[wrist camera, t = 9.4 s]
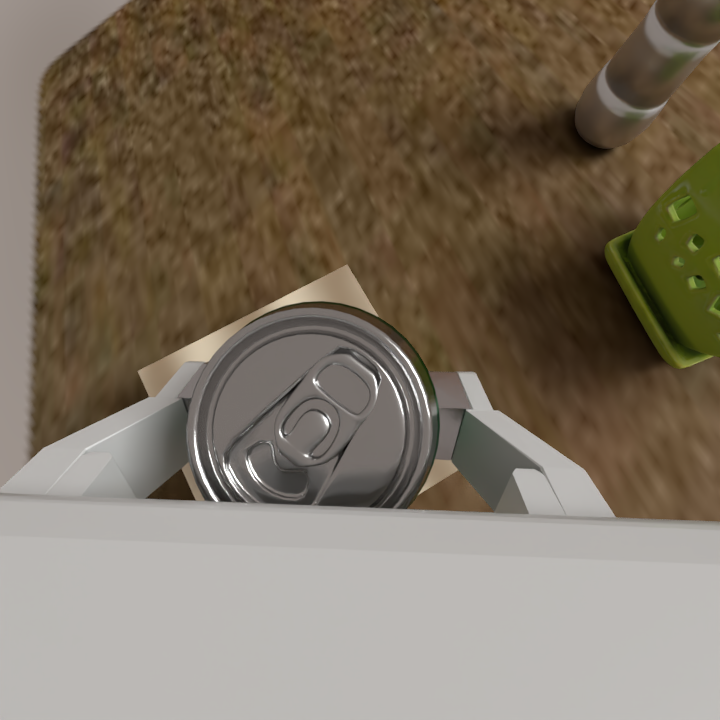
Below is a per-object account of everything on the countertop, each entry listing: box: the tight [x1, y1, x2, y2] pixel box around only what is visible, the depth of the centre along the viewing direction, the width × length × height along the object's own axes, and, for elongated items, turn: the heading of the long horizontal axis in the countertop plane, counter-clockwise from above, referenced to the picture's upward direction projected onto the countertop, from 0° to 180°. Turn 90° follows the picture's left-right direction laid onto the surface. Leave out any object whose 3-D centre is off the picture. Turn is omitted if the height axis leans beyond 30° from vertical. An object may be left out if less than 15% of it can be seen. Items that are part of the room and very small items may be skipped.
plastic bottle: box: [575, 0, 720, 149], centre depth 23 cm, size 6×7×20 cm
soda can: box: [186, 301, 440, 509], centre depth 12 cm, size 5×5×12 cm
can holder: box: [138, 265, 458, 501], centre depth 24 cm, size 16×16×5 cm
